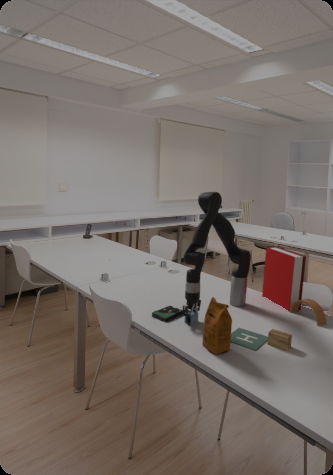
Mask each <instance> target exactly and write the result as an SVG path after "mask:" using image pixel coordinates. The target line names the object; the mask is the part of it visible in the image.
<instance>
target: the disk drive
mask: <svg viewBox="0 0 333 475" xmlns="http://www.w3.org/2000/svg"><path fill="white" fill-rule="evenodd" d="M180 316H184V315H183V309H180V308H178V307H174V306H172V305H168V306H165V307H163V308H160V309H158V310H154V311H153V312H151V317H153V318H154V319H158V320H160V321H163V322H165V323H166V322H169V321H171V320H174V319H176V318H178V317H180Z"/></svg>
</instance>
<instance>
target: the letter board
mask: <svg viewBox="0 0 333 475" xmlns="http://www.w3.org/2000/svg"><path fill="white" fill-rule="evenodd" d="M266 342H268V336H267V335H264V334H261V333H257V332H256V331H255V332H254V331H251V330H248V329H245V328H242V327H238V328H236V329H235V330H233V331H231V340H230V343H232V344H235V345H238V346H240V347H243V348H247V349H249V350H252V351H255V352H256V351H257V350H259V349H260V348H261V347H262V346H263V345H264V344H265V343H266Z"/></svg>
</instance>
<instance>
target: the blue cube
mask: <svg viewBox="0 0 333 475" xmlns="http://www.w3.org/2000/svg"><path fill="white" fill-rule="evenodd" d="M188 313H189V312H188ZM185 314H186V313H185ZM190 317H191V320H190V324H189V325H190V326H194V325H195V324H197V323H198V322H199V312H198V313H197V312H194V311H193V312H192V313H191V316H190ZM184 323H185V324H187V323H186V316H184Z"/></svg>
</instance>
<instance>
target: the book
mask: <svg viewBox="0 0 333 475" xmlns="http://www.w3.org/2000/svg"><path fill="white" fill-rule="evenodd" d="M264 256H265V258H264V259H265V260H264V270H263V281H262V293H263V294H261V297H263V298H264V297H266V298H268V299H269V300H271V301H272V302H271V301H270V302H271V303H273V302H274V303H273V304H275V303H276V304H278V305H280V306H282V307H283V308H285V309H286V310H285V309H284V310H285V311H287V310H288V311H287V312H290V308H291V306H292V304H293V303H294V302H296V301H299V300H303V299H302V298H303V290H304V289H303V288H304V280H305V278H304V277H305V269H306V259H307V256H306V255H304V254H301V253H297V252H295V251H292V250H289V249H286V248H283V247H279V246H277V245H269V246H267V245H266V247H265V255H264ZM266 298H265V299H266ZM268 299H267V300H268ZM269 300H268V301H269ZM276 304H275V305H276ZM278 305H277V306H278ZM280 306H279V307H280ZM301 306H302V303H301V304H300V306H299V308H298V311H301V308H302V307H301ZM282 307H281V308H282ZM283 308H282V309H283Z"/></svg>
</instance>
